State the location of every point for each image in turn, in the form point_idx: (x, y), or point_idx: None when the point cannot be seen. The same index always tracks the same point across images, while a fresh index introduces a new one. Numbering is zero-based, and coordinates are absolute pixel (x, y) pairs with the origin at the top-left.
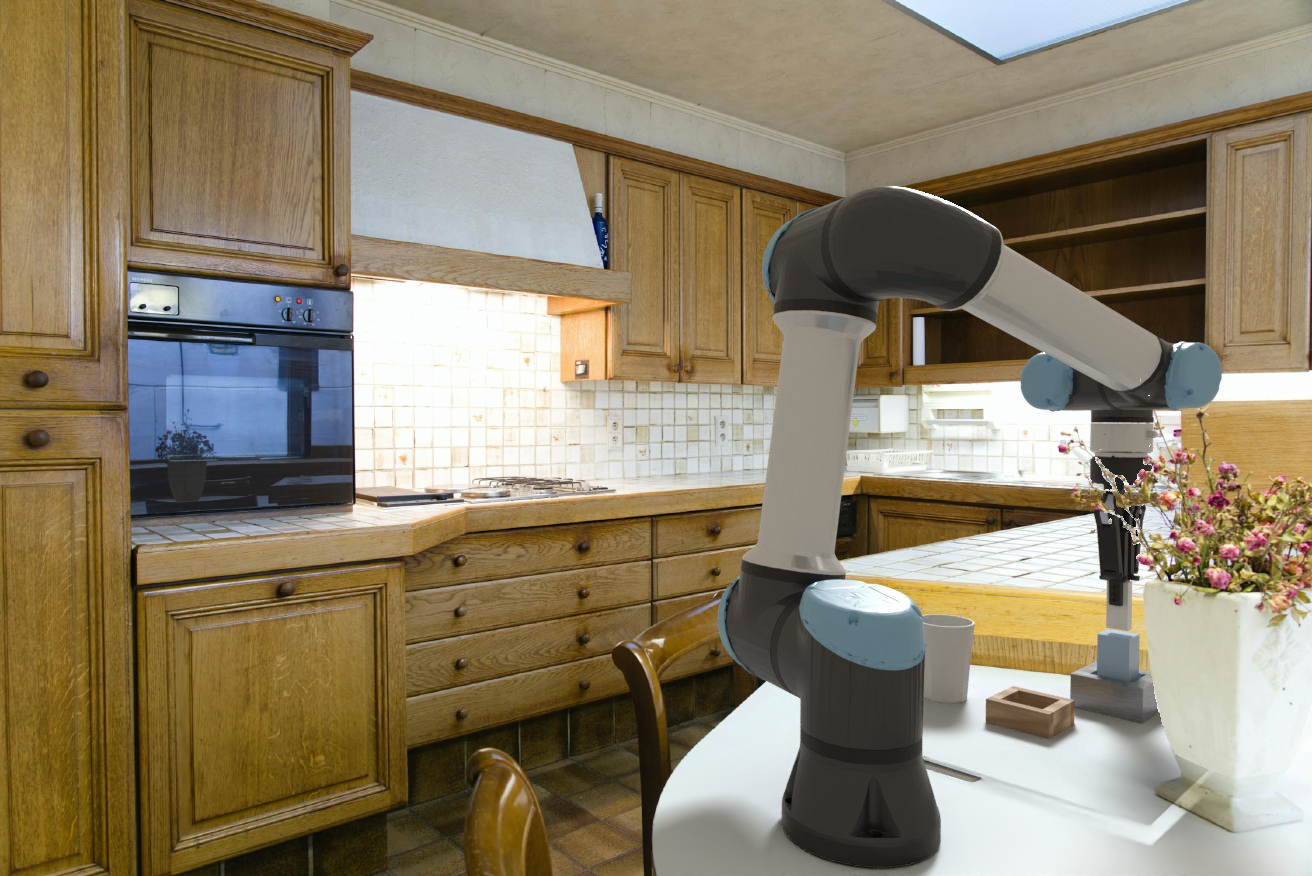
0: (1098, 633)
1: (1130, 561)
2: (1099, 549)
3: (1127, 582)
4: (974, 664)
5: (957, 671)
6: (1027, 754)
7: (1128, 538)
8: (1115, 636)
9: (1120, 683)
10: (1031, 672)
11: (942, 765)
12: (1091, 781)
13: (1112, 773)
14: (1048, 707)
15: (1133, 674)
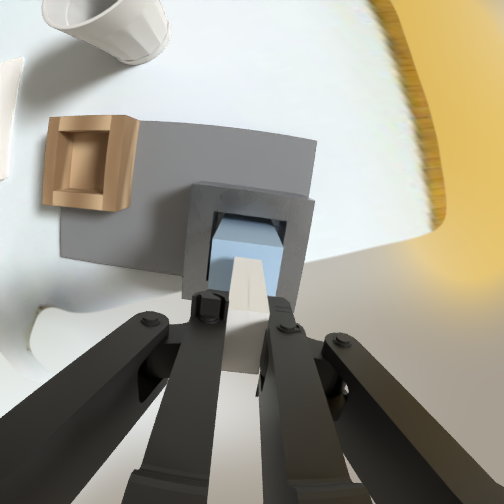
0: (218, 239)
1: (261, 418)
2: (63, 373)
3: (224, 367)
4: (376, 14)
5: (94, 45)
6: (41, 186)
7: (265, 493)
8: (213, 275)
9: (187, 265)
10: (394, 88)
11: None
12: (26, 256)
13: (52, 268)
14: (62, 194)
15: None
